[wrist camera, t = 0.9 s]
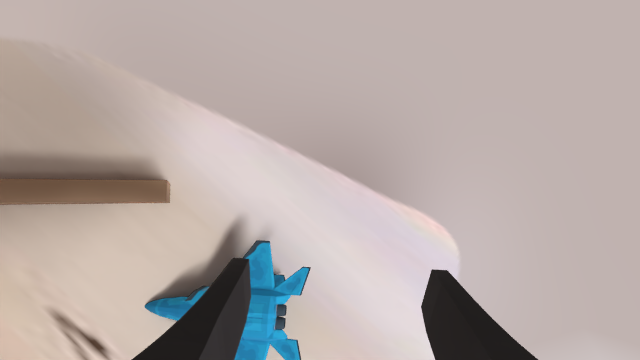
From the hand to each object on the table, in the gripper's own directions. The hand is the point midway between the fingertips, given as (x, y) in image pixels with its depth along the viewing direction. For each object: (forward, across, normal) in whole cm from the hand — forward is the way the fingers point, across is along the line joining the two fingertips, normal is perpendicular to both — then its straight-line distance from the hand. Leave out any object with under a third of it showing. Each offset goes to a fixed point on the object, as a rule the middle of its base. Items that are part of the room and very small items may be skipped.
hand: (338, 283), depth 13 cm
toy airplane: (+10, +7, +12) cm, 17 cm away
